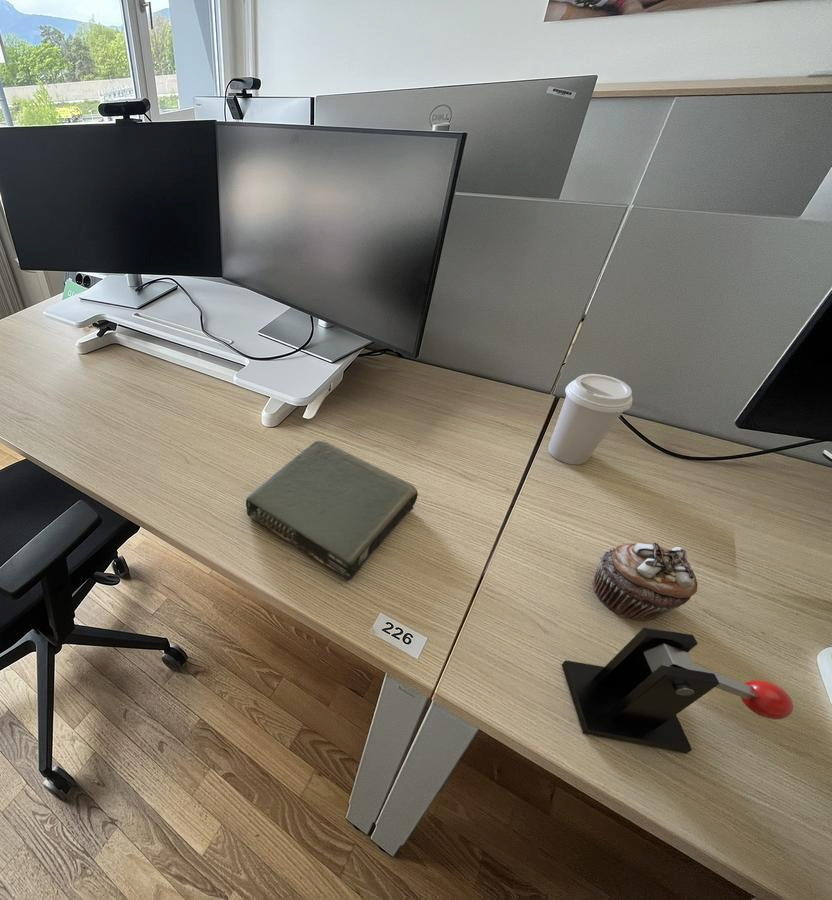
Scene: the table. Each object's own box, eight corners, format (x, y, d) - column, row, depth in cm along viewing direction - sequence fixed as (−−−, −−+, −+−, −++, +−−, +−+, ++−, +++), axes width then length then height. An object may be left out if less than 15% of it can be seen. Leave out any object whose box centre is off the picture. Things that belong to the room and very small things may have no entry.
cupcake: (651, 572, 67) (690, 527, 61) (682, 634, 60) (731, 591, 54) (576, 562, 69) (606, 517, 63) (598, 620, 62) (635, 577, 56)
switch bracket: (653, 680, 56) (717, 625, 48) (686, 754, 50) (766, 706, 42) (561, 664, 58) (607, 609, 50) (582, 733, 52) (639, 684, 44)
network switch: (236, 526, 79) (234, 506, 76) (305, 451, 93) (305, 431, 90) (363, 594, 68) (367, 573, 64) (420, 497, 81) (426, 476, 78)
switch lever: (752, 693, 50) (788, 681, 48) (773, 728, 47) (813, 718, 45) (634, 647, 50) (665, 634, 47) (649, 681, 47) (683, 668, 45)
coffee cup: (528, 440, 91) (557, 374, 81) (574, 434, 91) (609, 368, 82) (559, 473, 84) (596, 405, 74) (610, 466, 84) (653, 398, 74)
